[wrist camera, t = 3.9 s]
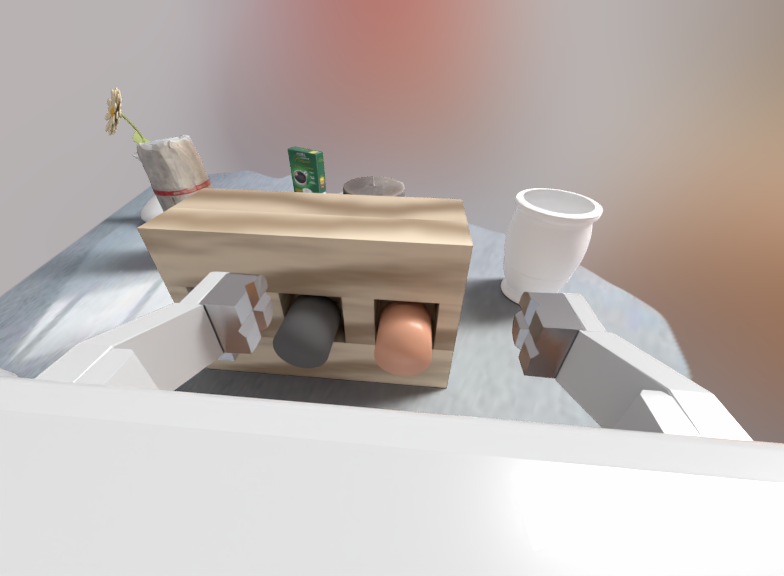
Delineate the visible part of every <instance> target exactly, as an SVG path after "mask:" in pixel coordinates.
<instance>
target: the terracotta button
mask: <svg viewBox="0 0 784 576" xmlns="http://www.w3.org/2000/svg"><path fill="white" fill-rule="evenodd" d="M374 358H375V361H376V363H377V364H378V365H379V366H380V367H381V368H382V369H383V370H385V371H386V372H388V373H391V374H394V375H399V376H412V375H416V374H419V373H421V372H423V371H425V370H426V369H427V368H428V367H429V366H430V364H431V361H432V329H431V314H430V312H429V310H428V309H427V307H426V306H424V305H423V304H422V303H420V302H410V301H395V300H394V301H392V302H390V303H388V304H387V305H386V306H385V307H384V308H383V310H382V312H381V317H380V323H379V328H378V334H377V340H376V345H375V351H374Z"/></svg>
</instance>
